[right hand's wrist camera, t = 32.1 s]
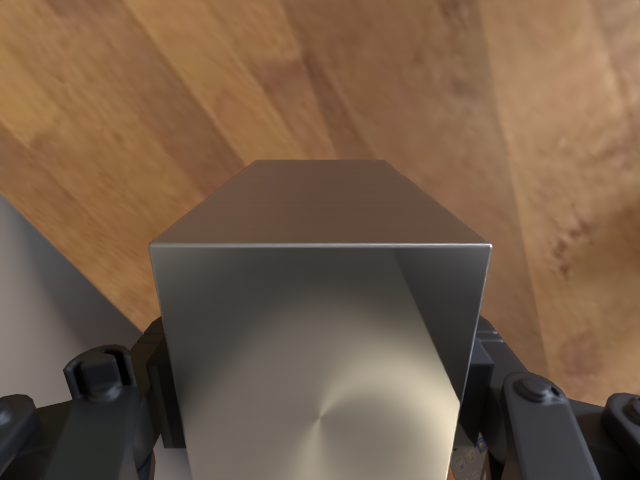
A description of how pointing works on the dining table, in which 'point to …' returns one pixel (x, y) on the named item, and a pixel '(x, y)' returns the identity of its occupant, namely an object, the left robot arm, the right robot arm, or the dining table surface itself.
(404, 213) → the grey metal block
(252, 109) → the dining table surface
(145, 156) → the dining table surface
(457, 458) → the hard drive box
